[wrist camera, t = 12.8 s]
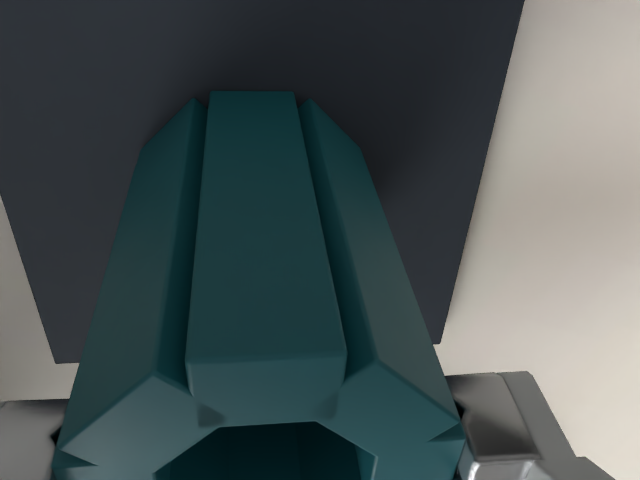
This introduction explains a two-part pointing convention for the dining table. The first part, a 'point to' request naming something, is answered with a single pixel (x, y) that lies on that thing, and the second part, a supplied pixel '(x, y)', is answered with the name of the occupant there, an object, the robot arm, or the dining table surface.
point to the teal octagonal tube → (256, 315)
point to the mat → (241, 75)
